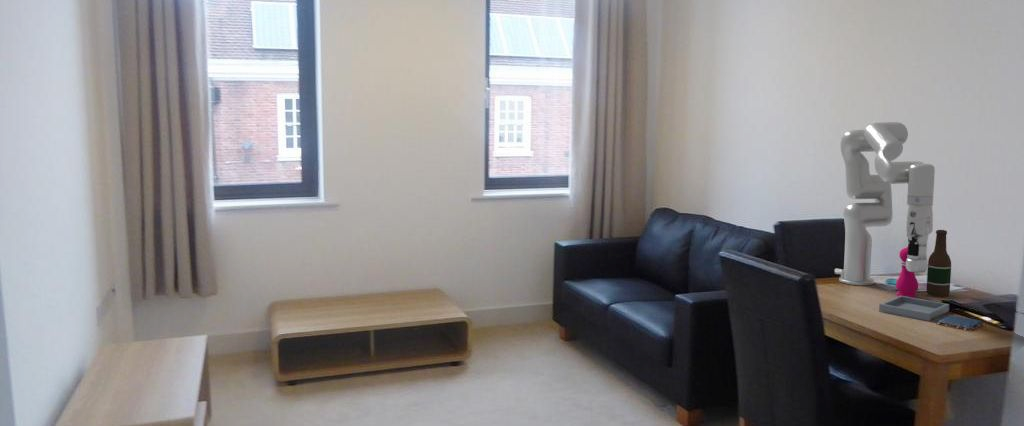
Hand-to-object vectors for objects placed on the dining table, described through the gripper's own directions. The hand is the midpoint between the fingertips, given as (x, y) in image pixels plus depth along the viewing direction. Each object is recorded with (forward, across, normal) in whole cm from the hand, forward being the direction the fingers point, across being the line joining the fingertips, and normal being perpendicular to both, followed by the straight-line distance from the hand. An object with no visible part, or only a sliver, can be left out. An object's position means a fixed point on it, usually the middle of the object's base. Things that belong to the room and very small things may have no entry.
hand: (917, 253), depth 246 cm
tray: (+20, 0, 0) cm, 20 cm away
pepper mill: (+20, +16, +9) cm, 27 cm away
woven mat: (+21, -5, -16) cm, 27 cm away
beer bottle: (+20, +28, +3) cm, 35 cm away
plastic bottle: (+7, 0, 0) cm, 7 cm away
